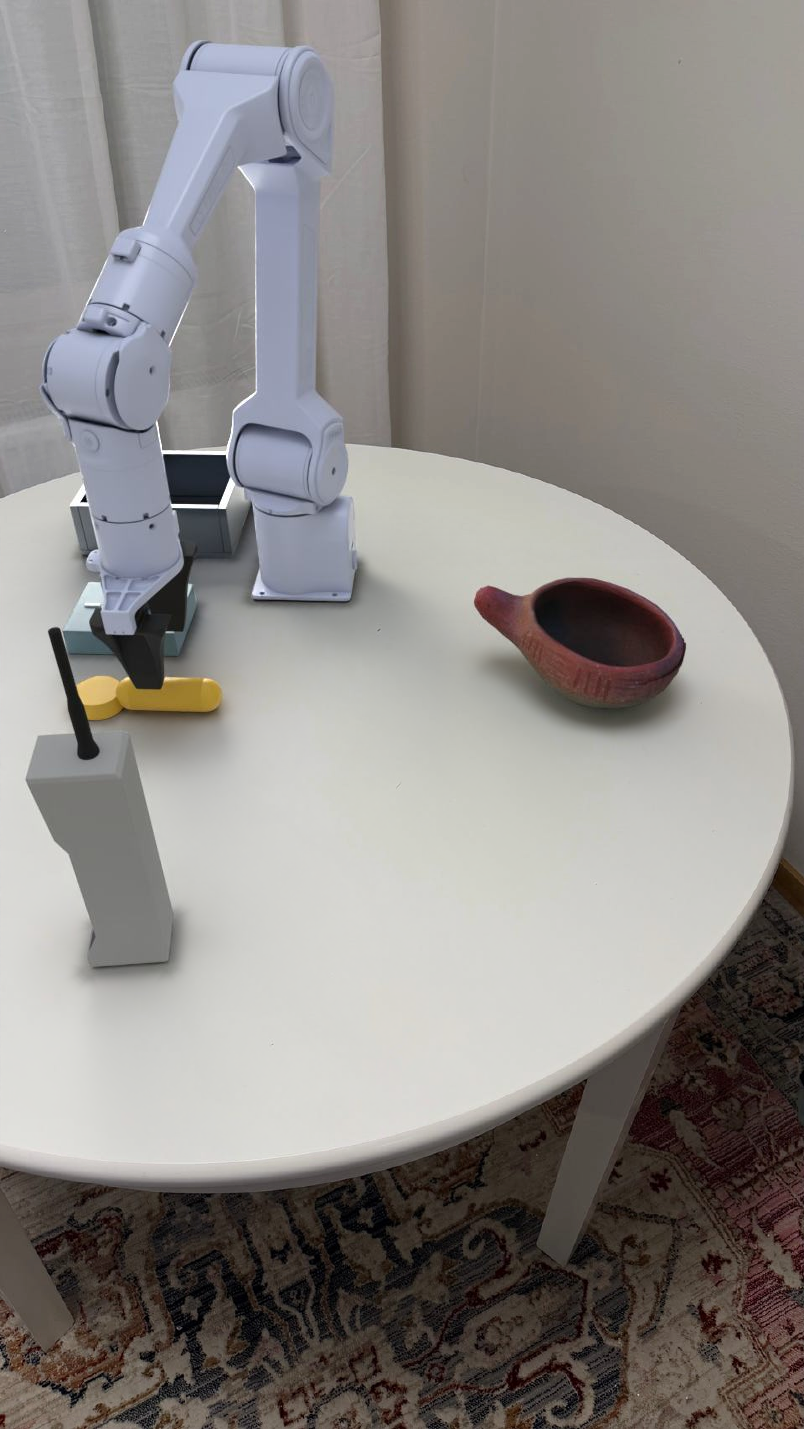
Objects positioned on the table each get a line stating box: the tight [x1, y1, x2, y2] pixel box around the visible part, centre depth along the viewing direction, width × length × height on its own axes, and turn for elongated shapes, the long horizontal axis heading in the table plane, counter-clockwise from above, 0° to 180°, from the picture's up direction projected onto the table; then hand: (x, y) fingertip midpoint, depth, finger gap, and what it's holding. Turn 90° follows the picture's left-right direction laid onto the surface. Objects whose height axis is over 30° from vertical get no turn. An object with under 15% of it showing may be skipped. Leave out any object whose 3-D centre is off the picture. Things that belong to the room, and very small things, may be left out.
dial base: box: [61, 581, 198, 657], centre depth 92 cm, size 10×8×3 cm
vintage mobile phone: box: [24, 626, 174, 968], centre depth 57 cm, size 4×5×25 cm
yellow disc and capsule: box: [76, 675, 223, 721], centre depth 83 cm, size 12×4×3 cm, turn 87°
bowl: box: [473, 577, 687, 709], centre depth 83 cm, size 16×13×8 cm
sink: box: [69, 450, 252, 559], centre depth 105 cm, size 16×13×6 cm
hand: (161, 656), depth 81 cm, fingers open, 7 cm apart
